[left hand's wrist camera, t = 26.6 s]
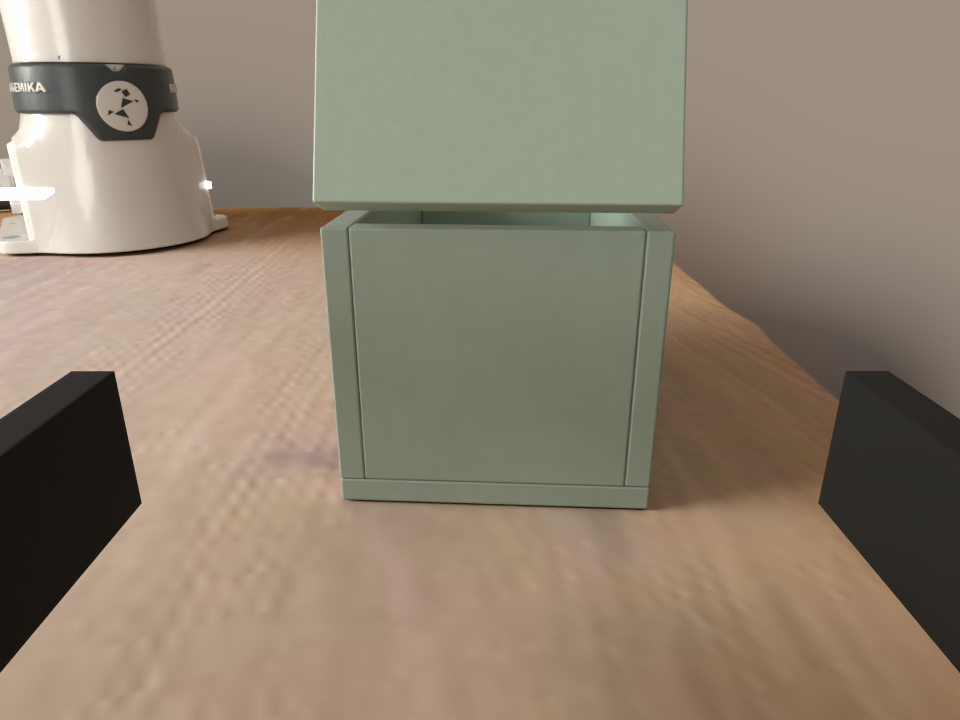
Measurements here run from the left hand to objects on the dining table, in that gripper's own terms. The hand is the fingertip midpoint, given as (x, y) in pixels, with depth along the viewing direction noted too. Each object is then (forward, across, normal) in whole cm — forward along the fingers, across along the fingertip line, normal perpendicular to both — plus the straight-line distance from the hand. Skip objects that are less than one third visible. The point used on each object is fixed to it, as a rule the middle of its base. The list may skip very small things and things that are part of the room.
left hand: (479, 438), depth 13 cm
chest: (+15, +1, -6) cm, 16 cm away
